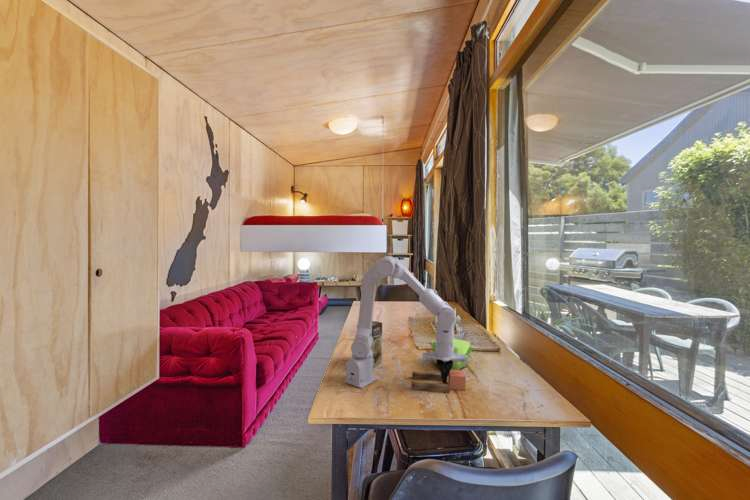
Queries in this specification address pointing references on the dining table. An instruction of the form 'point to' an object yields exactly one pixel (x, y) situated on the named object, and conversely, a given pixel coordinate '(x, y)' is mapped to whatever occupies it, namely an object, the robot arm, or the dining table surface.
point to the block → (456, 379)
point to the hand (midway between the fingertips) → (444, 381)
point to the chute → (428, 386)
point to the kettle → (457, 352)
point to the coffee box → (376, 343)
